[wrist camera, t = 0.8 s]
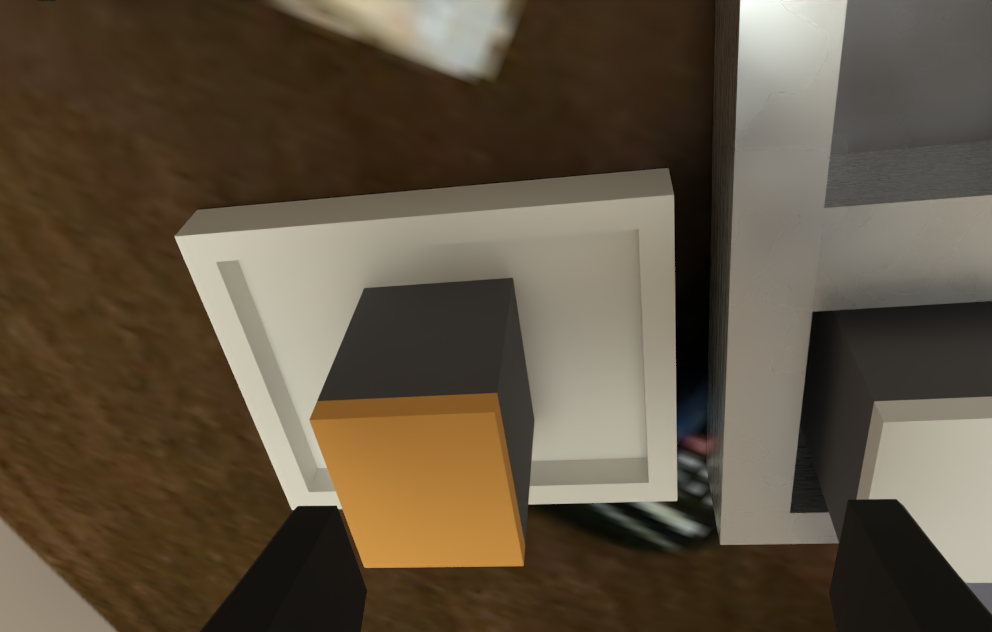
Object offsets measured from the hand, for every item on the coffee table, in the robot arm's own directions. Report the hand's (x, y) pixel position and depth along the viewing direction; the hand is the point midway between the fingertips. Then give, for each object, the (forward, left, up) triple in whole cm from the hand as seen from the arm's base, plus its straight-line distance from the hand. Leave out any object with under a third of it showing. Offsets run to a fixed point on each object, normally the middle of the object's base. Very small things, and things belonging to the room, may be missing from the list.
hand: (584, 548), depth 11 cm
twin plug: (-4, -8, -9) cm, 13 cm away
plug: (-4, +4, -10) cm, 11 cm away
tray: (-4, +4, -10) cm, 11 cm away
